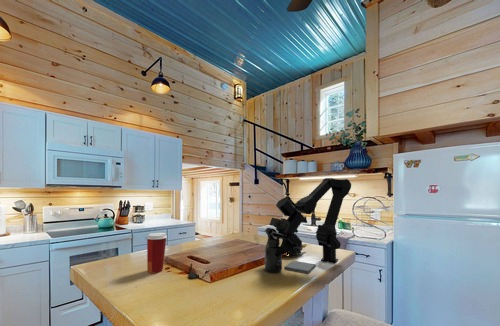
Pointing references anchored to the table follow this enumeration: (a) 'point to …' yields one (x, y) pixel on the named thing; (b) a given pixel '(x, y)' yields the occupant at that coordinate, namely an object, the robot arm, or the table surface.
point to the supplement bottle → (273, 257)
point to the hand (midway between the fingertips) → (270, 253)
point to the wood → (193, 275)
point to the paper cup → (155, 252)
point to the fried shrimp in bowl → (296, 251)
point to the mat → (300, 266)
